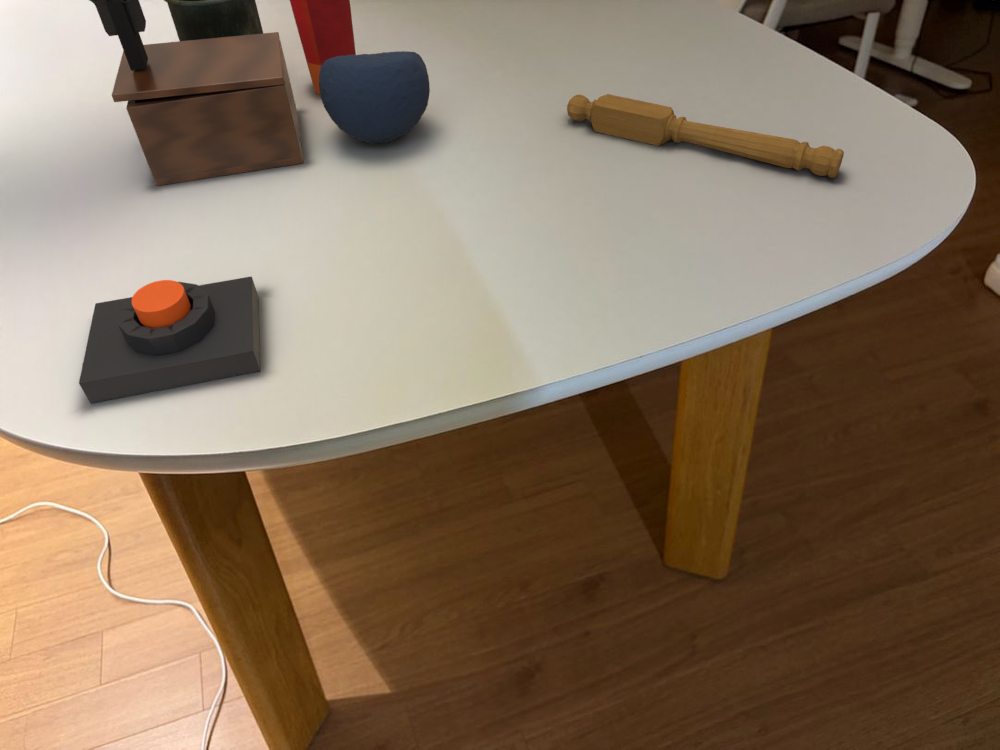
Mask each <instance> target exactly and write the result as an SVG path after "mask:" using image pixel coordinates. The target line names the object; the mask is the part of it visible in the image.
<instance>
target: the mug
mask: <svg viewBox="0 0 1000 750" xmlns="http://www.w3.org/2000/svg"><path fill="white" fill-rule="evenodd" d="M163 1H164V2H166V3H167V6H168V9H169V12H170V15H171V16H170V17H171V19H172V22H173V25H174V29H175V32H176V34H177V38H178V41H189V40H199V39H210V38H220V37H231V36H241V35H252V34H262V33H264V31H263V26H262V22H261V18H260V14H259V10H258V5H257V2H256V0H163Z"/></svg>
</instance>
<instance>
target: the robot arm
mask: <svg viewBox="0 0 1000 750" xmlns="http://www.w3.org/2000/svg"><path fill="white" fill-rule="evenodd" d="M89 2H91V3H93V5H94V6H95V9H96V11H97V14H98V16H99V19H100V21H101V24H102V27H103V28H104V32H105V33H106V34H107V35H108V37H114V36H117V37H118V40H119V42H120V46H121V47H122V50H124V53H125V56H126V58H127V61H128V64H129V66H130V69H131V71H133V70H140V69H146V67H147V62H148V57H147V54H146V51H145V48H144V45H145V44H144V43H143V39H142V37H141V34H140V33H144V32H145V31H146V26H147V20H146V17H145V15H144V11H143V9H142V6H141V3H140V0H89Z"/></svg>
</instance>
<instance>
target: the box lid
mask: <svg viewBox="0 0 1000 750" xmlns="http://www.w3.org/2000/svg"><path fill="white" fill-rule="evenodd" d="M280 41H281V36H280V33H279V31H274V32H263V33H262V34H252V35H241V36H231V37H220V38H210V39H199V40H189V41H179V40H178V41H170V42H157V43H148V44H147V43H146V44H143V45H144V48H145V51H146V54H147V57H148V62H147V67H146V69H140V70H133V71H131V69H130V66H129V64H128V61H127V58H126V56H125V53H124V50H123V49H122V50H123V51H122V54H121V58H120V63H119V66H118V69H117V73H116V78H115V81H114V85H113V89H112V93H111V97H112V101H113V102H114V103H121V102H128V101H132V100H141V99H151V98H160V97H170V96H179V95H189V94H198V93H208V92H217V91H226V90H236V89H245V88H255V87H264V86H274V85H283V84H284V75H283V65H282V55H281V45H282V44H281V45H280Z"/></svg>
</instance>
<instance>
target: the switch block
mask: <svg viewBox="0 0 1000 750" xmlns="http://www.w3.org/2000/svg"><path fill="white" fill-rule="evenodd" d="M178 282H179V283H180V284H181V285H182V286H183V287H184V290H185V292H186V295H187V297H188V300H189V302H190V305H191V309H190V312H189V313H188V314H187V316H186V317H185V318H183V319H181V320H179V321H177V322H176V323H174V324H172V325H170V326H164V327H159V328H149V327H145V326H144V325H142V324H141V323H140V321H139V319H138V316H137V314H136V312H135V310H134V308H133V306H132V297H133V296H129V297H124V298H118V299H113V300H108V301H101V302H96V303H95V304H94V309H93V313H92V318H91V323H90V326H89V327H90V328H89V333H88V337H87V343H86V347H85V352H84V355H83V356H84V357H83V362H82V366H81V370H80V376H79V380H78V384H79V386H80V388H81V389H82V391H83V393H84V395H85V397H86V398H87V400H88V402H89V403H90V404H94V403H99V402H105V401H110V400H115V399H120V398H125V397H130V396H135V395H136V396H137V395H141V394H146V393H147V394H148V393H151V392H157V391H162V390H167V389H173V388H177V387H178V388H179V387H184V386H188V385H195V384H199V383H204V382H210V381H215V380H220V379H225V378H231V377H236V376H241V375H247V374H251V373H257V372H261V348H260V347H261V345H260V314H259V313H260V311H259V294H258V291H257V287H256V285H255V282H254V279H253V276H245V277H240V278H235V279H229V280H222V281H217V282H211V283H205V284H200V285H199V284H196V283H189V282H183V281H178Z"/></svg>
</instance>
